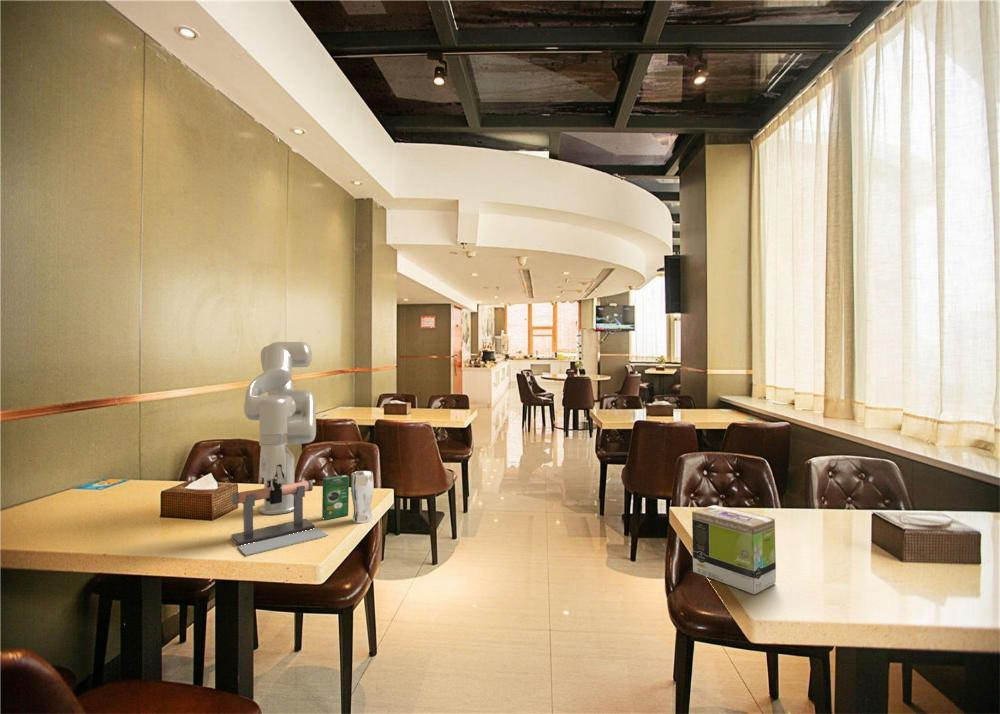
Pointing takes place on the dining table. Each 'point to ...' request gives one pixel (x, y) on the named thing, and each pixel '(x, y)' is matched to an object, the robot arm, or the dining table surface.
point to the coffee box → (335, 497)
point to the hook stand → (276, 530)
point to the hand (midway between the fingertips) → (273, 501)
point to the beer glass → (362, 495)
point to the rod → (265, 492)
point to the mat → (281, 542)
